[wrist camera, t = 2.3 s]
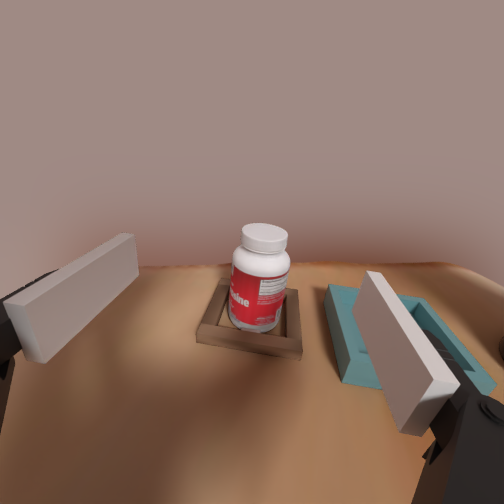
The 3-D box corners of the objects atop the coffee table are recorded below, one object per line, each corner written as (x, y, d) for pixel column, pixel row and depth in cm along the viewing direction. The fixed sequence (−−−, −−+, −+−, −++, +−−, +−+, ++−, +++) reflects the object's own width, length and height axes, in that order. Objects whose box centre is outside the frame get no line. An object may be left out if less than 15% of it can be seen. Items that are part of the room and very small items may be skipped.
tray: (414, 316, 32) (423, 298, 31) (478, 406, 22) (497, 384, 20) (323, 302, 33) (328, 283, 32) (341, 382, 22) (350, 359, 21)
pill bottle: (222, 304, 31) (226, 221, 26) (266, 297, 33) (278, 219, 28) (237, 341, 26) (246, 246, 21) (288, 329, 28) (307, 241, 23)
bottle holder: (296, 296, 34) (297, 289, 33) (300, 360, 24) (302, 351, 24) (221, 285, 34) (221, 278, 34) (196, 342, 25) (196, 333, 24)
